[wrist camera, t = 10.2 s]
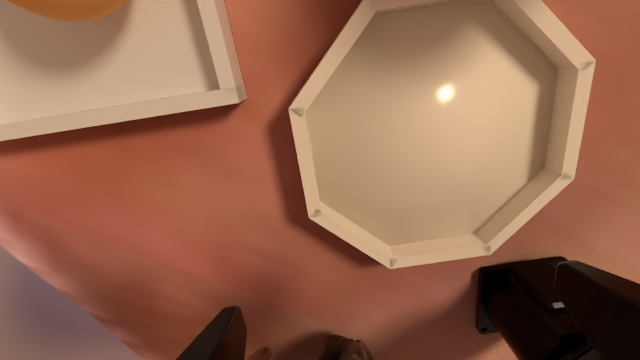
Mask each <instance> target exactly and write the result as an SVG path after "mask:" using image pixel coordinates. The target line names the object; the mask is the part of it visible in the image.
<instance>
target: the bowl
mask: <svg viewBox="0 0 640 360" xmlns="http://www.w3.org/2000/svg"><path fill="white" fill-rule="evenodd" d="M595 62H596V61H595V59H594V58H593V57H592V56H591V55H590V53H589V52H588V51H587V50H586V49H585V48H584V47H583V46H582V45H581V44H580V42H579V41H578V40H577V39H576V38H575V37H574V36H573V35H572V34H571V33H570V31H569V30H568V29H567V28H566V27H565V26H564V25H563V24H562V23H561V22H560V20H559V19H558V18H557V17H556V16H555V15H554V14H553V13H552V12H551V11H550V9H549V8H548V7H547V6H546V5H545V4H544V3H543V2H542V1H541V0H362V1H361V3H360V4H359V5H358V7H357V8H356V10H355V11H354V13H353V14H352V16H351V17H350V19H349V20H348V21H347V23H346V24H345V26H344V27H343V29H342V30H341V32H340V33H339V35H338V36H337V37H336V39H335V40H334V42H333V43H332V45H331V46H330V48H329V49H328V50H327V52H326V53H325V54H324V56H323V57H322V59H321V61H320V62H319V64H318V65H317V67H316V68H315V70H314V71H313V72H312V74H311V75H310V77H309V78H308V80H307V81H306V83H305V84H304V86H303V87H302V88H301V90H300V91H299V93H298V94H297V96H296V97H295V99H294V100H293V102H292V103H291V104H290V107H289V109H288V110H289V115H290V120H291V126H292V131H293V136H294V142H295V147H296V152H297V158H298V163H299V168H300V174H301V179H302V184H303V189H304V195H305V200H306V205H307V211H308V216H309V218H310V219H311V220H313V221H314V222H316V223H318V224H319V225H321V226H322V227H324V228H326V229H327V230H329V231H330V232H332V233H334V234H335V235H337V236H338V237H340V238H342V239H343V240H345V241H346V242H348V243H349V244H351V245H353V246H354V247H356V248H357V249H359V250H361V251H362V252H364V253H365V254H367V255H369V256H370V257H372V258H373V259H375V260H377V261H378V262H380V263H381V264H383V265H385V266H386V267H388V268H389V269H393V268H400V267H407V266H414V265H421V264H428V263H436V262H443V261H450V260H457V259H464V258H471V257H478V256H485V255H491V254H492V253H493V252H494V251H495V250H496V249H497V248H498V247H499V246H501V245H502V244H503V243H504V242H505V241H506V240H507V239H508V238H509V237H510V236H512V235H513V234H514V233H515V232H516V231H517V230H518V229H519V228H520V227H522V226H523V225H524V224H525V223H526V222H527V221H528V220H529V219H530V218H531V217H533V216H534V215H535V214H536V213H537V212H538V211H539V210H540V209H541V208H542V207H544V206H545V205H546V204H547V203H548V202H549V201H550V200H551V199H552V198H554V197H555V196H556V195H557V194H558V193H559V192H560V191H561V190H562V189H563V188H565V187H566V186H567V185H568V184H569V183H570V182H571V181H572V180H573V179H574V178H575V172H576V167H577V161H578V156H579V150H580V145H581V139H582V134H583V128H584V122H585V117H586V111H587V106H588V100H589V95H590V89H591V84H592V78H593V73H594V67H595Z"/></svg>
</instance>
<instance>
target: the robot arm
mask: <svg viewBox="0 0 640 360" xmlns="http://www.w3.org/2000/svg"><path fill="white" fill-rule="evenodd" d="M487 273H488V274H487ZM486 274H487V275H486ZM476 329H477V330H478V332H479V333H481V334H488V333H495V332H500V334H501V335H502V337H503V338H504V340H505V341H506V342H507V344H508V345H509V347H510V348H511V350H512V351H513V353H514V354H515V356H516V357H517V358H518V360H640V284H639V283H636V282H633V281H630V280H628V279H625V278H622V277H620V276H617V275H614V274H612V273H609V272H606V271H604V270H601V269H598V268H595V267H593V266H590V265H587V264H585V263H582V262H579V261H575V260H572V261H568V260H567V259H566V258H564V257H561V256H560V257H553V258H545V259H538V260H531V261H524V262H517V263H510V264H503V265H496V266H489V267H484V268H482V269H481V270H480V271H479V281H478V297H477V314H476ZM246 338H247V329H246V325H245V321H244V318H243V315H242V312H241V309H240V308H239V307H238V306H231V307H226V308H224V309H222V310H221V312H220V313H219V314H218V315H217V316H216V317H215V318H214V319H213V320H212V321H211V322H210V323H209V324H208V326H207V327H206V328H205V329H204V330H203V331H202V332H201V333H200V334H199V335H198V336H197V337H196V338H195V340H194V341H193V342H192V343H191V344H190V345H189V346H188V347H187V348H186V349H185V350H184V351H183V352H182V354H181V355H180V356H179V357H178V358H177V359H176V360H244V357H245V347H246Z"/></svg>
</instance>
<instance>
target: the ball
mask: <svg viewBox="0 0 640 360" xmlns="http://www.w3.org/2000/svg"><path fill="white" fill-rule="evenodd" d="M7 1H9V2H11V3H13V4H14V5H16V6H18V7H21V8H23V9H25V10H27V11H30V12H32V13H34V14H37V15H41V16H44V17H47V18H51V19H56V20H62V21H88V20H93V19H97V18H101V17H103V16H105V15H108V14H109V13H111V12H112V11H114V10H116V9H117V8H118V7H119V6H120V5H121V4H122V3H123V2H124V1H125V0H7Z"/></svg>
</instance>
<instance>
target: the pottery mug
mask: <svg viewBox="0 0 640 360" xmlns="http://www.w3.org/2000/svg"><path fill="white" fill-rule="evenodd" d="M270 356H271V349H270V348H269V349H267V350H266V351H265V353H264V355H263V357H262V358H261V360H269V358H270ZM319 360H373V359H372V356H371V354H370V352H369V351H368V349H367V348H366V346H365V345H364V344H363V343H362V341H361V340H358V341H357V342H356V341H354V340H352V339H347V338H346V337H342V336H336V335H334V336H329V338H328V342H327V343H326V346H325V349H324V352H323V355H322V356H321V357H320V358H319Z"/></svg>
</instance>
